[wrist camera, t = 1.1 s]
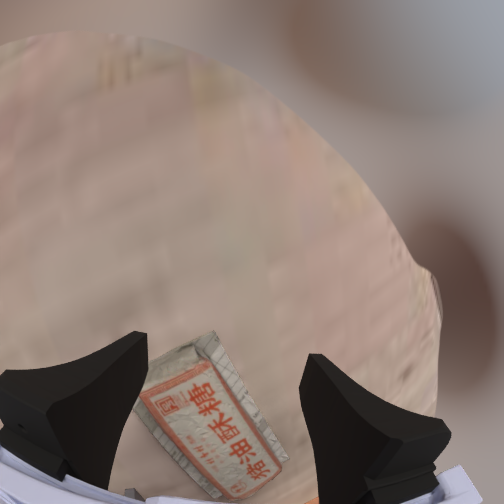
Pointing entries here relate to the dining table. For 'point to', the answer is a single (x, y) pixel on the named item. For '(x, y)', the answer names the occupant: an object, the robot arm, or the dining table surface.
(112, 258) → the dining table surface
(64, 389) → the robot arm
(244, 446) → the packaged product
